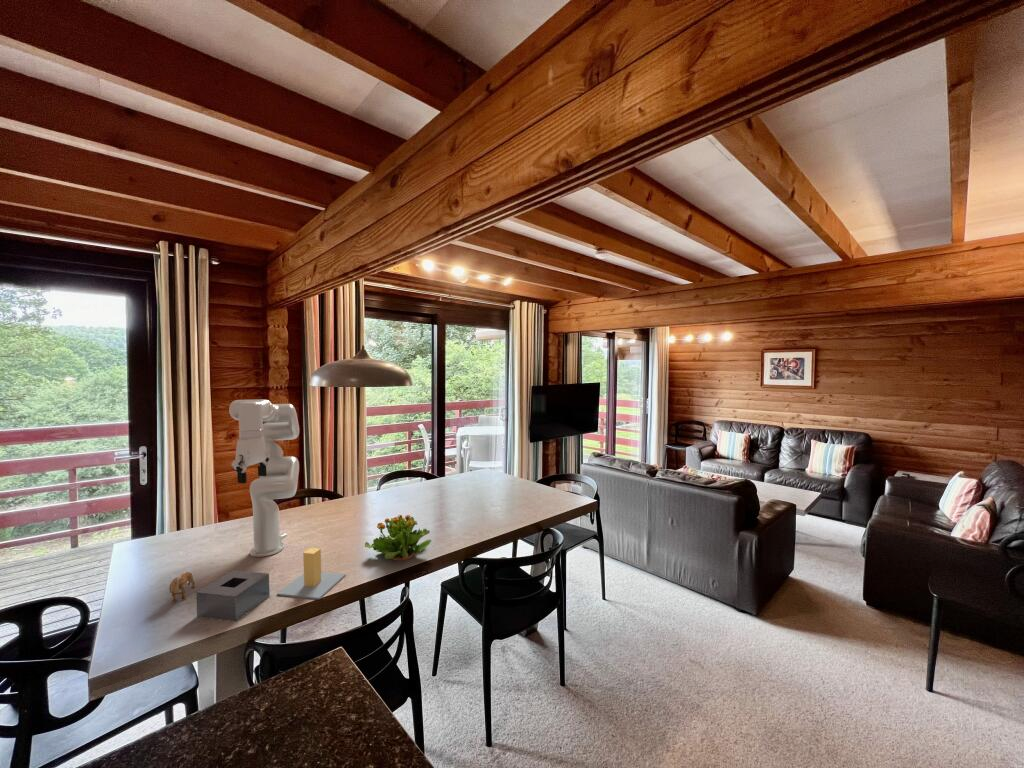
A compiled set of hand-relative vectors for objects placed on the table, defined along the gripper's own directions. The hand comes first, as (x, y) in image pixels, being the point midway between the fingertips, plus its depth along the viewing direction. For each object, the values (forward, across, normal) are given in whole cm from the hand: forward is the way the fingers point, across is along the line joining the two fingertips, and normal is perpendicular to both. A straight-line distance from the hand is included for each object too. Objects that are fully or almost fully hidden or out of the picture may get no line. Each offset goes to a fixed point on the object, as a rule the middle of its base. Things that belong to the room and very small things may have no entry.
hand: (252, 479), depth 155 cm
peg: (+36, +4, +27) cm, 45 cm away
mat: (+36, +4, +27) cm, 45 cm away
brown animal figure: (+37, +18, -12) cm, 42 cm away
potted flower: (+36, -23, +50) cm, 66 cm away
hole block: (+36, +20, +10) cm, 43 cm away
